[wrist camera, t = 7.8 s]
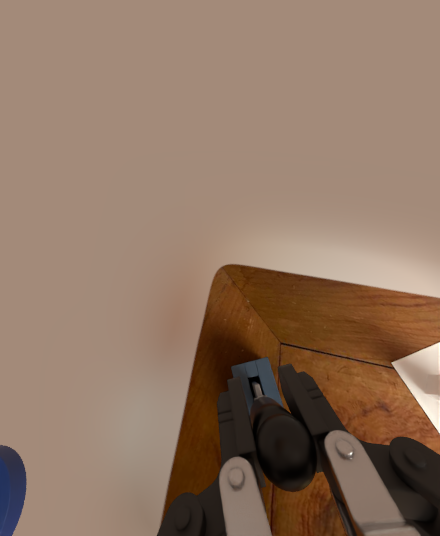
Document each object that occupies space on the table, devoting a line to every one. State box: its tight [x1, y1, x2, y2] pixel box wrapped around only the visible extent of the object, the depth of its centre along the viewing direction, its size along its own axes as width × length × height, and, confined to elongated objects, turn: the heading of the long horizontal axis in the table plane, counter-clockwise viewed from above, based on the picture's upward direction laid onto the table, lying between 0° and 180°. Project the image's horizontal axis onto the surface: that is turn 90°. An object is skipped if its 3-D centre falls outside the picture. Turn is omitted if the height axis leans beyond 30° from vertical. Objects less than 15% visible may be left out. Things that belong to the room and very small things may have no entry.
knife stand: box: [231, 357, 284, 420], centre depth 24 cm, size 4×7×6 cm, turn 13°
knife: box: [250, 381, 317, 492], centre depth 15 cm, size 2×4×19 cm, turn 13°
